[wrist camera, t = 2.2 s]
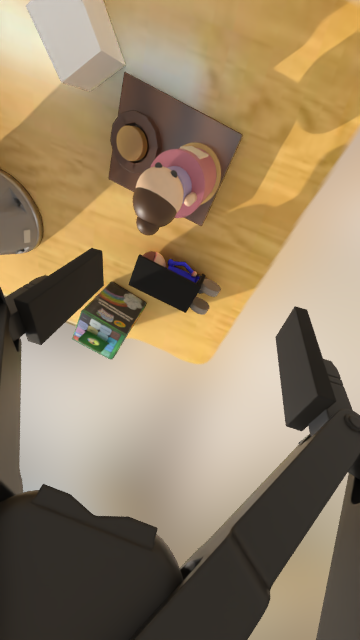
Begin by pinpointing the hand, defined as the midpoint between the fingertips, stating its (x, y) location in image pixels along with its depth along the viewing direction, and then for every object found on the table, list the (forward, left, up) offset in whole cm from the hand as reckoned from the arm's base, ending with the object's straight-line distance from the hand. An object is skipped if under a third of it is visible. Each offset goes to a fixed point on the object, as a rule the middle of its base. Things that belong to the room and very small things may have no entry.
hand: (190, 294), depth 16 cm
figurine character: (-2, -13, -26) cm, 29 cm away
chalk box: (-11, -27, -26) cm, 39 cm away
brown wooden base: (-10, +3, -26) cm, 28 cm away
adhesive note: (-23, +10, -26) cm, 36 cm away
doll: (-6, +3, -22) cm, 23 cm away
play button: (-15, +3, -23) cm, 27 cm away
